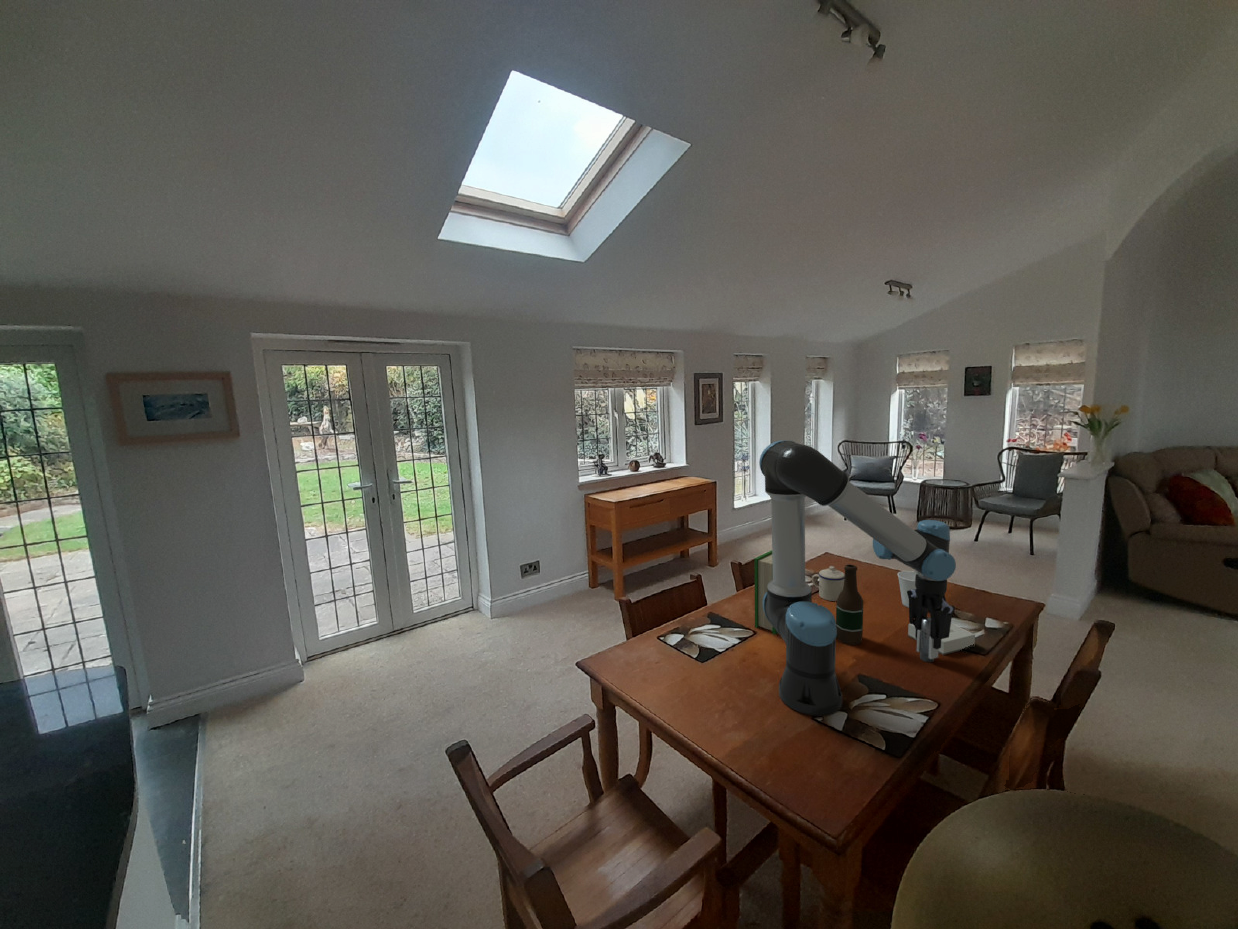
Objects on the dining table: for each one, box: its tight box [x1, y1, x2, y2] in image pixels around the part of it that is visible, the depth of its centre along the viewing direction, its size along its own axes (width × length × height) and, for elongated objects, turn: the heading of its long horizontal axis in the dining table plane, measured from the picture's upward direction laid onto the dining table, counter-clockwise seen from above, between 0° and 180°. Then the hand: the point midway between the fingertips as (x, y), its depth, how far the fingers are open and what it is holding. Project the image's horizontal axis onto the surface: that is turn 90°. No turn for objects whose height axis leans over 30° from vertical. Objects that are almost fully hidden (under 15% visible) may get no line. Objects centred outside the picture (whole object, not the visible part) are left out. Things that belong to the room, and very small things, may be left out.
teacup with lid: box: [811, 565, 845, 602], centre depth 185 cm, size 12×9×12 cm
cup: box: [897, 570, 916, 609], centre depth 173 cm, size 10×10×11 cm
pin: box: [919, 616, 935, 663], centre depth 140 cm, size 3×3×12 cm
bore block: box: [907, 622, 976, 656], centre depth 149 cm, size 12×12×4 cm
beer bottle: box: [835, 563, 864, 646], centre depth 152 cm, size 8×8×24 cm
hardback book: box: [753, 549, 779, 636], centre depth 165 cm, size 18×7×24 cm, turn 133°
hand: (927, 654), depth 140 cm, fingers closed on pin, 3 cm apart
